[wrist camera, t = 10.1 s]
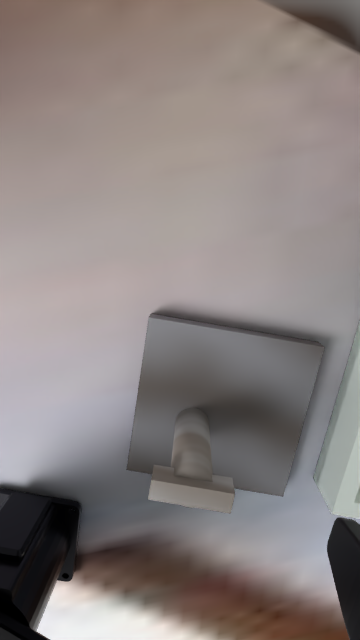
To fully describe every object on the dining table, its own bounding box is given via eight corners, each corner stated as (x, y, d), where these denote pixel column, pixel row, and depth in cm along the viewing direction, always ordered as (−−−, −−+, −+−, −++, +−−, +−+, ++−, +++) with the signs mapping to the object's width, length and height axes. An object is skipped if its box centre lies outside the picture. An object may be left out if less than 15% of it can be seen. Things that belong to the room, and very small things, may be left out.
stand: (279, 485, 22) (317, 594, 15) (129, 459, 22) (100, 557, 15) (318, 341, 20) (384, 394, 13) (151, 313, 20) (127, 351, 13)
